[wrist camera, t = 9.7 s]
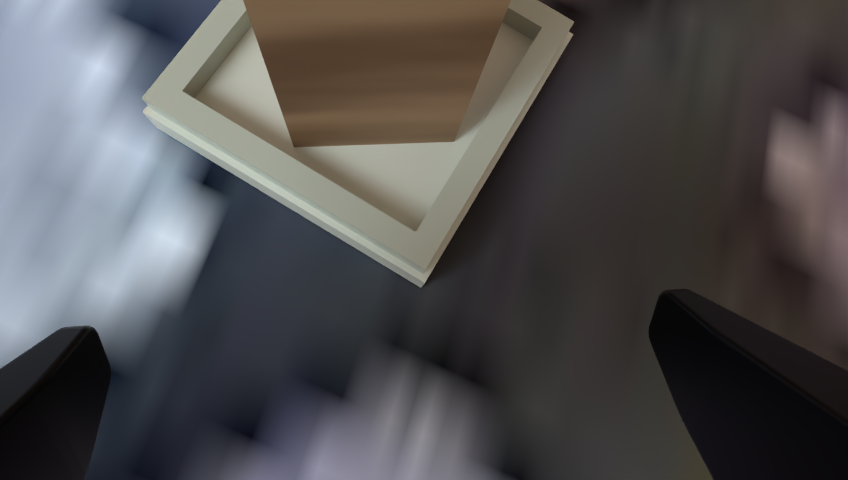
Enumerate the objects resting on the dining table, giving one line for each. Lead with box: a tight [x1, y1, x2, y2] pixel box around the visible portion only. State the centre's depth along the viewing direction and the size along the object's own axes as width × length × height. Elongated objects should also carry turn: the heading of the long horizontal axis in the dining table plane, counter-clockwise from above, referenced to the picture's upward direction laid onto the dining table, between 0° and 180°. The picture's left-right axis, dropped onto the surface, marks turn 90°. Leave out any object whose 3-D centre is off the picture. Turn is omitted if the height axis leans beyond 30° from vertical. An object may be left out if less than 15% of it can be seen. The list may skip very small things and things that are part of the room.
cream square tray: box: [142, 0, 574, 288], centre depth 18 cm, size 10×10×2 cm
